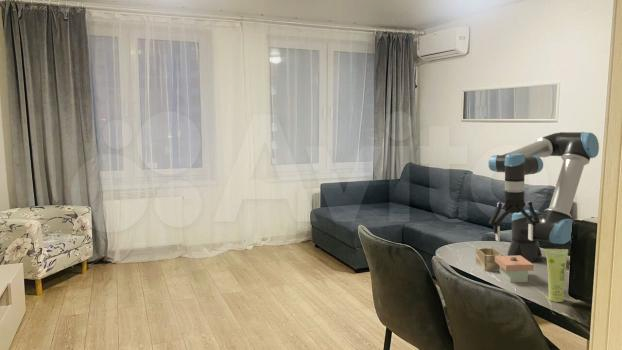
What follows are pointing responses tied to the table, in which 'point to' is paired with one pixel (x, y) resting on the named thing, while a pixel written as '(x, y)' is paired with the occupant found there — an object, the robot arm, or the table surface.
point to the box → (487, 259)
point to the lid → (514, 263)
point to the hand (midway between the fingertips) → (514, 240)
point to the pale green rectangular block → (515, 275)
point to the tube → (556, 273)
